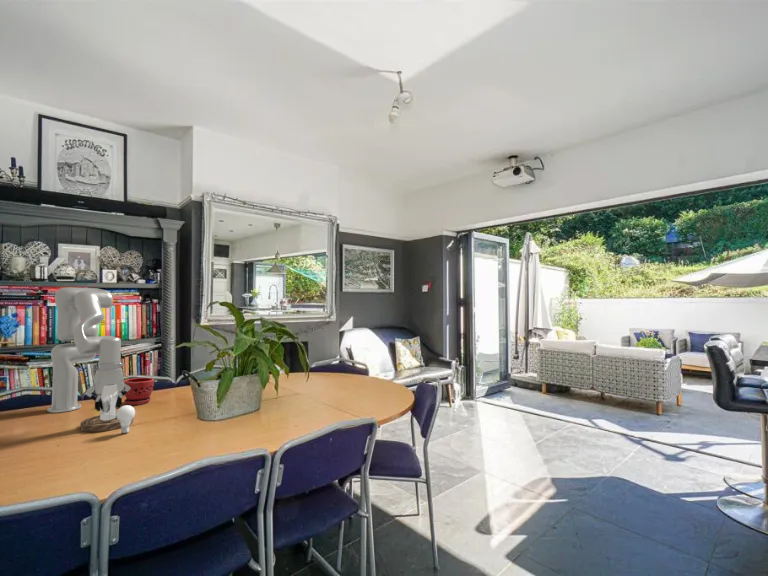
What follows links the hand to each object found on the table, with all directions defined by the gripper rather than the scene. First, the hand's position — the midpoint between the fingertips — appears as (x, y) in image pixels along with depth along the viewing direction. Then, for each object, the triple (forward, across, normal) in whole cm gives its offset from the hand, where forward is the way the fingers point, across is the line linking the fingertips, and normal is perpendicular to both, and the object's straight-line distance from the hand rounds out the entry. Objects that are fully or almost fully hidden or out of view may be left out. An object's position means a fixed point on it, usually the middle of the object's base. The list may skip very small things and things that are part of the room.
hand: (108, 408), depth 163 cm
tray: (+7, 0, 0) cm, 7 cm away
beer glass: (+5, 0, 0) cm, 5 cm away
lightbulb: (+7, -2, +17) cm, 19 cm away
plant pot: (+7, -20, -31) cm, 38 cm away
